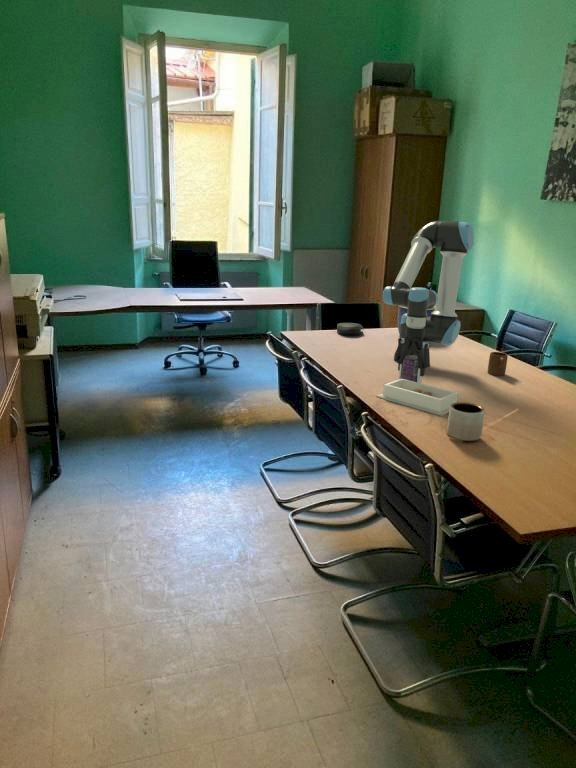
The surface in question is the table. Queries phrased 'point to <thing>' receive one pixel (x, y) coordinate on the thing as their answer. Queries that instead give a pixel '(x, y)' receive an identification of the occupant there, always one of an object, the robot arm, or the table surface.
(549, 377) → the table surface
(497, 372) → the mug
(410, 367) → the beverage can
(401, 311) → the planter
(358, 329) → the dark grey rounded block
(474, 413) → the planter
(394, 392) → the white rectangular tray
